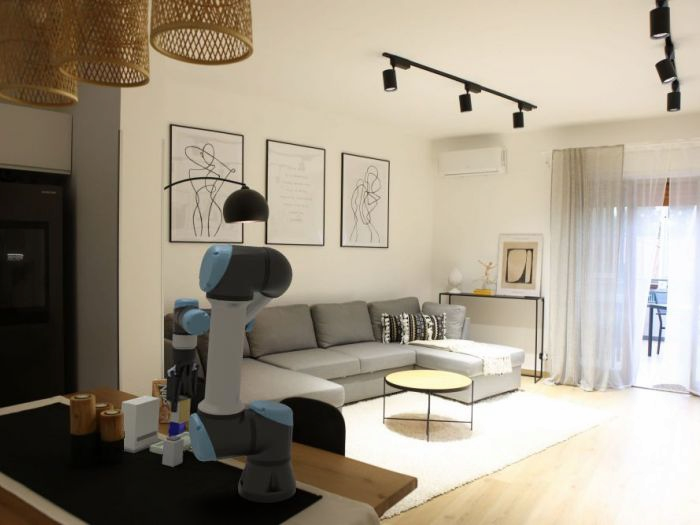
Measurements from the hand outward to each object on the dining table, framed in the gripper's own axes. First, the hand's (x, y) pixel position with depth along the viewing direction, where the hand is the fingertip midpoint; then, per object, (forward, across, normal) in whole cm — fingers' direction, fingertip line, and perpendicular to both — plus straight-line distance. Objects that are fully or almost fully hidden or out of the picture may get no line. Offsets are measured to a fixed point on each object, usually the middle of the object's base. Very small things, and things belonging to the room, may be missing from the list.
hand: (180, 419), depth 178 cm
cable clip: (+9, -9, -9) cm, 16 cm away
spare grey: (+8, +12, +8) cm, 17 cm away
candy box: (+9, -17, -22) cm, 29 cm away
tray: (+8, 0, 0) cm, 8 cm away
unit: (+8, +6, -11) cm, 15 cm away
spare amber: (0, 0, 0) cm, 0 cm away
